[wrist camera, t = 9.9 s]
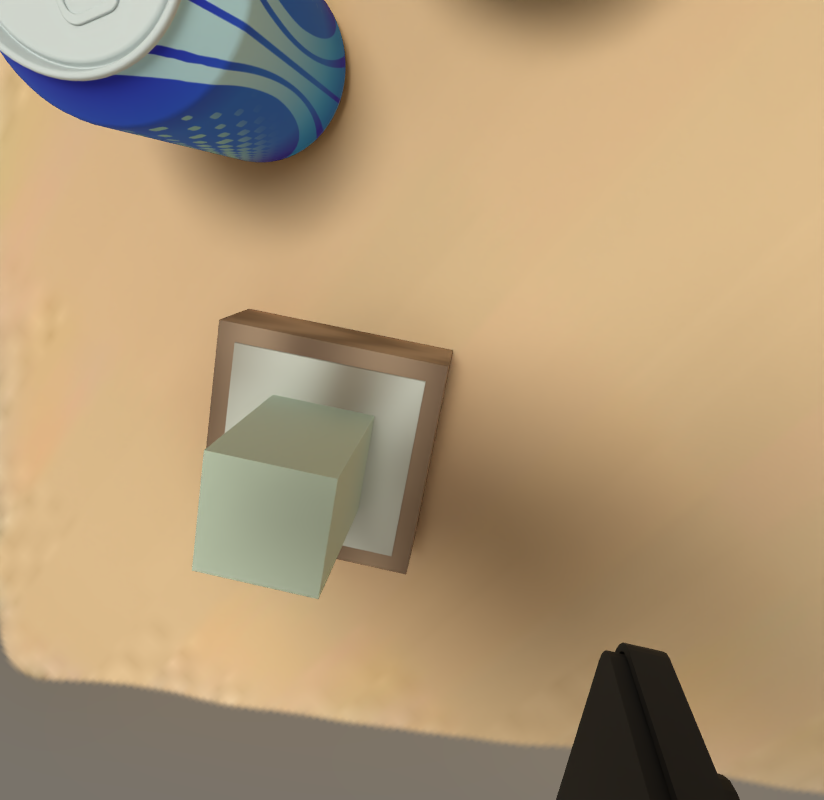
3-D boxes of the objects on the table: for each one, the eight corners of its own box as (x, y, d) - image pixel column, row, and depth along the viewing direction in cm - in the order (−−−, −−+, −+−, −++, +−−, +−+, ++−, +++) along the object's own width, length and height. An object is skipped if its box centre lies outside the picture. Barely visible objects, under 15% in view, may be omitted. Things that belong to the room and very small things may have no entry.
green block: (374, 416, 31) (337, 479, 24) (358, 510, 33) (318, 599, 25) (272, 394, 32) (203, 450, 24) (260, 489, 33) (192, 570, 25)
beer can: (162, 127, 33) (-119, 48, 18) (208, -55, 31) (-71, -329, 15) (318, 190, 33) (171, 165, 18) (376, 12, 31) (264, -194, 15)
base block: (452, 350, 34) (448, 367, 30) (414, 537, 37) (405, 575, 33) (248, 309, 35) (218, 320, 31) (227, 496, 38) (196, 529, 34)
